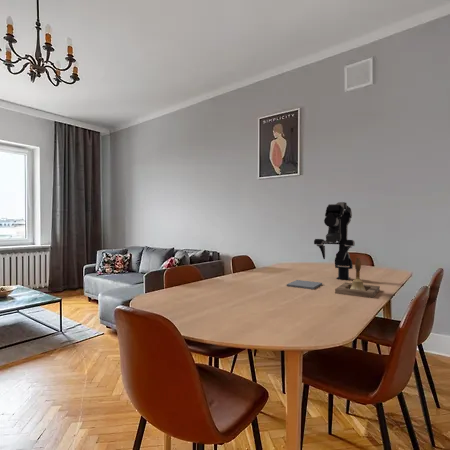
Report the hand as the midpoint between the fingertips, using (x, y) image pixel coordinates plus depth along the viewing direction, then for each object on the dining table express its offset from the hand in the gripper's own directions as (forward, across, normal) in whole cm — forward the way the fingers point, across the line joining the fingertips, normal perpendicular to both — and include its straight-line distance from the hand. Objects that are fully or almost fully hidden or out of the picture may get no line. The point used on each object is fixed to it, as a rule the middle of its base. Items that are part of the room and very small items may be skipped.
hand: (333, 259), depth 156 cm
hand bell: (+15, +12, -2) cm, 19 cm away
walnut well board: (+14, +12, -2) cm, 19 cm away
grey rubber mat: (+14, -14, 0) cm, 20 cm away
